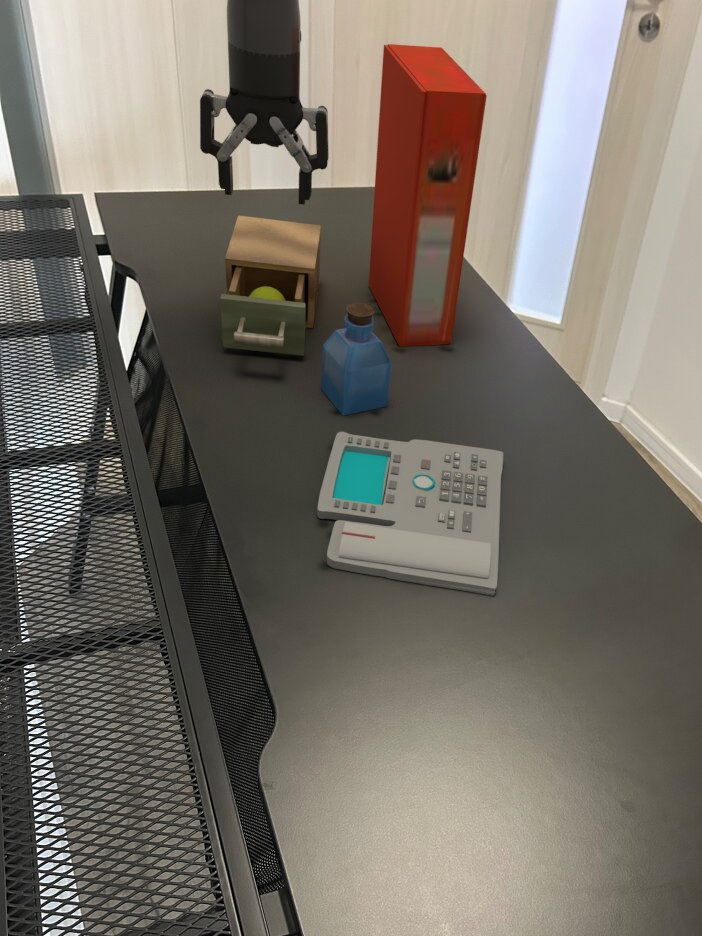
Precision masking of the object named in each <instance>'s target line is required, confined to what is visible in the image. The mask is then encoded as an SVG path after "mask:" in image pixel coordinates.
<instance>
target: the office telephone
mask: <svg viewBox="0 0 702 936" xmlns="http://www.w3.org/2000/svg"><path fill="white" fill-rule="evenodd" d="M503 466H504V451H500V450H496V449H490V448H484V447H477V446H476V447H475V446H468V445H462V444H461V445H460V444H455V443H447V442H440V441H435V440H426V439H418V438H417V439H410V440H409V441H400V440H393V439H384V438H377V437H371V436H364V435H357V434H351V433H347V432H346V431H338V432H337V433H336V435H335V438H334V441H333V444H332V448H331V451H330V454H329V458H328V461H327V466H326V469H325V473H324V477H323V479H322V484H321V487H320V491H319V497H318V501H317V509H316V510H317V513H316V517H317V518H319V519H321V520H325V519H326V520H335V522H334V524H333V528H332V531H331V533H330V534H331V535H330V539H329V543H328V547H327V551H326V564H327V566H329V567H331V568H332V569H335V570H341V571H347V572H351V573H357V574H363V575H368V576H375V577H383V578H386V579H391V580H394V581H395V580H396V581H402V582H407V583H415V584H421V585H427V586H433V587H439V588H446V589H452V590H456V591H457V590H458V591H464V592H470V593H476V594H482V595H488V596H492V597H493V596H494V595H495V594H496V592H495V593H494V594H492V593H486V592H481V591H475V590H469V589H462V588H456V587H450V586H444V585H437V584H431V583H438V584H445V585H454V586H462V587H470V588H475V589H483V590H490V591H495V590H496V591H497V588H498V574H499V550H500V548H499V547H500V521H501V520H500V519H501V518H500V517H501V491H502V490H501V489H502V488H501V487H502V484H501V483H502V474H503ZM412 580H415V581H412ZM419 581H424V582H419ZM425 582H430V583H425Z"/></svg>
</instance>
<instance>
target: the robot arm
mask: <svg viewBox="0 0 702 936" xmlns="http://www.w3.org/2000/svg"><path fill="white" fill-rule="evenodd" d="M299 1H300V0H226V3H227V4H226V25H227V27H226V28H227V55H228V57H227V58H228V81H229V82H228V83H229V85H228V86H229V90H228V91H229V93H228V95H227V96H225V95H220V94H215V93H214V91H213V90H212V89H209V88H206V89H205V90H204V91H203V92H202V95H201V96H200V99H199V149H200V151H201V152H202V153H203V154H205V155H211V156H212V157H214V158H215V159H216V160H217V171H218V185H219V188H220V190H224V195H225V196H232V195H233V192H234V170H233V169H234V168H233V156H231V155H232V154H233V153H234V152H235V150H236V149H237V148H238V147H239V146H240V145H241V143H242V142H243V141H244V140H247V141H248V142H249V143H250V145H258V146H259V145H266V146H269V147H274V148H279V147H280V146H284V147H285V149H286V150H287V152H288V153H289V155H290V156H291V157H292V158H293V159H294V161H295V162H296V164H297V165H298V166H299V171H298V205H302V206H306V205H305V204H306V201H310V199H311V197H312V189H313V188H312V187H313V186H312V185H313V182H312V181H313V172H314V171H316V170H326V169H327V167H328V161H329V159H330V158H329V154H330V153H329V117H328V116H329V113H328V112H329V111H328V108H327V107H326V106H325V105H319V106H318V107H317V108H313V107H304V106H303V104H302V102H301V98H300V97H301V96H300V94H301V93H300V91H301V88H300V86H301V85H300V84H301V42H302V31H301V28H302V27H301V11H300V10H301V9H300V2H299ZM223 109H225V110H226V112H227V114H228V115H229V117H230V118H231V120H232V122H233V123H234V124H235V125H234V126H233V127H232V129H231V130H230V132H229V133H228V134H227V136H226V138H225V139H223V141H222V142H220V141H219V140H216V139H215V118H218V117H219V116H220V115H221V112H222V110H223ZM303 120H305V121H306V122H307V124H308V128H309V129H310V130H311V131H313V132H315V145H316V146H315V148H316V153H314V154H313V153H312V154H311V153H310V151H309V149H307V147H306V145H305V144H304V141H303V139H302V136H301V135H300V134H299V132H298V130H297V129H298V128H299V126H300V125H301V124H302V122H303Z"/></svg>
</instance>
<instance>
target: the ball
mask: <svg viewBox="0 0 702 936" xmlns="http://www.w3.org/2000/svg"><path fill="white" fill-rule="evenodd" d="M249 297H255V298H264V299H273V300H282V301H286V300H285V298H284V297H283V295H282V294H281V293H280V292H279V291H278V290H276V289H274V288H272V287H260V288H257V289H255V290H254V291H253V292H252V293H251V294H250V296H249Z"/></svg>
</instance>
